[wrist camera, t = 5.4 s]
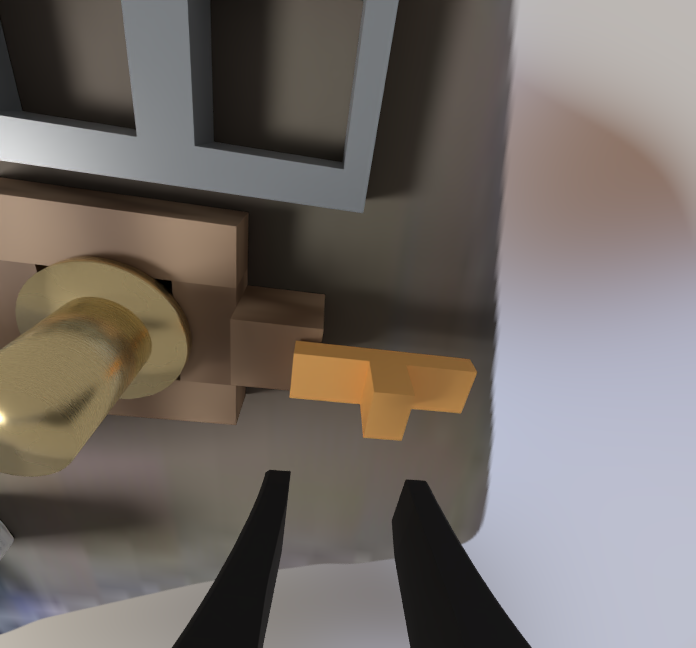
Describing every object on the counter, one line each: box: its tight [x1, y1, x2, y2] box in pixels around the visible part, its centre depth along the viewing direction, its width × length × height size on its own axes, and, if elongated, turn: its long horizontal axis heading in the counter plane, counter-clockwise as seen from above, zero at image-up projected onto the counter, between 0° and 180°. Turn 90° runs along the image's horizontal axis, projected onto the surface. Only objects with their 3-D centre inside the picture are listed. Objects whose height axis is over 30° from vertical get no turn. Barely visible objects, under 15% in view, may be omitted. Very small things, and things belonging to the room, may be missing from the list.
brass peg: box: [0, 256, 192, 477], centre depth 15 cm, size 7×7×9 cm
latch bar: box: [290, 341, 477, 441], centre depth 16 cm, size 8×2×3 cm, turn 81°
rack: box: [0, 0, 399, 213], centre depth 13 cm, size 15×8×2 cm, turn 81°
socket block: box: [0, 177, 325, 425], centre depth 18 cm, size 15×11×4 cm
